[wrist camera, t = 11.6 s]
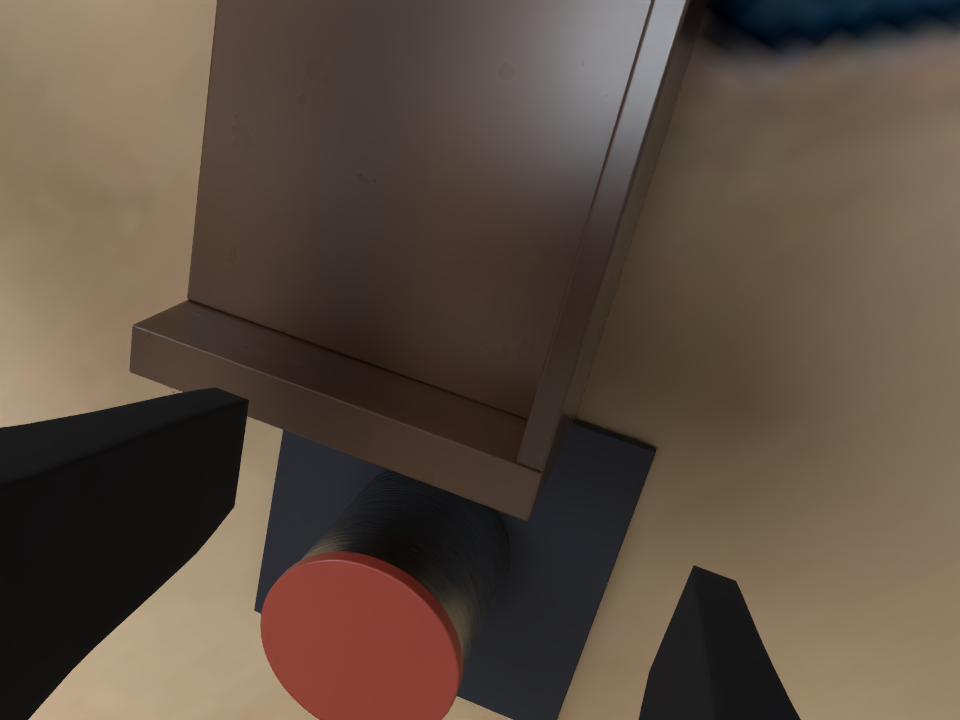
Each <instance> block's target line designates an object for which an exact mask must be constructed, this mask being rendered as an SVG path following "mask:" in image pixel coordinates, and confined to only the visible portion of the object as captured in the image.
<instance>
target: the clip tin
mask: <svg viewBox="0 0 960 720" xmlns="http://www.w3.org/2000/svg"><path fill="white" fill-rule="evenodd" d="M509 561H510V548H509V541H508V537H507V533H506V530H505V527H504V525H503V522H502V521H501V519H500V517H499V515H498V513H497V512H496V510H495V509H493V508H490V507H488V506H485V505H482V504H480V503H477V502H474V501H472V500H469V499H466V498H464V497H461V496H458V495H456V494H453V493H450V492H448V491H445V490H443V489H440V488H437V487H435V486H432V485H429V484H427V483H424V482H421V481H419V480H416V479H413V478H411V477H408V476H405V475H403V474H400V473H397V472H395V471H392V470H388V471H386V472H383V473H382V474H380V475H378V476H376V477H375V478H374V479H372V480H371V481H370V482H369V483H368V484H367V485H366V486H365V487H364V488H363V489H362V490H361V491H360V492H359V494H358V495H357V496H356V497H355V498H354V499H353V500H352V502H351V503H350V504H349V505H348V506H347V507H346V509H345V510H344V511H343V512H342V513H341V514H340V515H339V517H338V518H337V519H336V520H335V521H334V522H333V523H332V525H331V526H330V527H329V528H328V529H327V530H326V531H325V533H324V534H323V535H322V536H321V537H320V538H319V540H318V541H317V542H316V543H315V544H314V545H313V546H312V548H311V549H310V550H309V551H308V552H307V553H306V554H305V556H304V557H303V558H302V559H301V560H300V561H299V562H297V563H295V564H294V565H293V566H291V567H290V568H289V569H287V570H286V571H285V573H284V574H283V575H282V576H281V577H280V578H279V579H278V580H277V581H276V582H275V584H274V585H273V586H272V588H271V589H270V591H269V592H268V595H267V597H266V599H265V602H264V605H263V609H262V613H261V624H260V625H261V638H262V643H263V647H264V650H265V654H266V657H267V659H268V661H269V664H270V666H271V668H272V670H273V672H274V673H275V675H276V677H277V678H278V680H279V681H280V683H281V684H282V685H283V687H284V688H285V689H286V691H287V692H288V693H289V694H290V695H291V696H292V697H293V698H294V699H295V700H296V701H297V702H298V703H299V704H300V705H301V706H302V707H303V708H304V709H306V710H307V711H308V712H310V713H311V714H312V715H313V716H315V717H316V718H318V719H319V720H442V719H443V717H444V716H445V715H446V714H447V713H448V711H449V710H450V708H451V706H452V705H453V703H454V700H455V698H456V696H457V693H458V691H459V688H460V686H461V681H462V676H463V670H464V668H465V666H466V663H467V661H468V659H469V657H470V655H471V652H472V650H473V648H474V646H475V644H476V642H477V639H478V637H479V635H480V633H481V631H482V628H483V626H484V624H485V622H486V620H487V617H488V615H489V613H490V611H491V609H492V606H493V604H494V602H495V600H496V598H497V595H498V593H499V591H500V589H501V587H502V585H503V582H504V580H505V577H506V575H507V572H508V568H509Z"/></svg>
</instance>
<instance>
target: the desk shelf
mask: <svg viewBox="0 0 960 720" xmlns="http://www.w3.org/2000/svg"><path fill="white" fill-rule="evenodd" d="M707 2H708V0H217V7H216V17H215V27H214V37H213V47H212V57H211V67H210V77H209V87H208V97H207V107H206V117H205V127H204V137H203V146H202V156H201V166H200V176H199V186H198V196H197V206H196V216H195V226H194V236H193V246H192V256H191V266H190V276H189V286H188V295H187V298H188V299H189V300H187V301H185V302H182V303H180V304H178V305H176V306H174V307H171V308H169V309H167V310H165V311H163V312H160V313H158V314H156V315H154V316H152V317H149V318H147V319H145V320H143V321H141V322H138V323H136V324H134V325H133V329H132V342H131V356H130V369H129V370H130V372H131V373H134V374H137V375H139V376H142V377H145V378H147V379H150V380H153V381H155V382H158V383H161V384H163V385H166V386H169V387H171V388H174V389H177V390H179V391H182V392H188V391H193V390H199V389H206V388H214V387H216V388H219V389H222V390H224V391H227V392H230V393H232V394H235V395H238V396H240V397H243V398H246V399H248V400H249V405H248V413H247V416H248V417H251V418H254V419H256V420H259V421H262V422H264V423H267V424H270V425H272V426H275V427H278V428H280V429H283V430H286V431H288V432H291V433H294V434H296V435H299V436H302V437H304V438H307V439H310V440H312V441H315V442H318V443H320V444H323V445H326V446H328V447H331V448H334V449H336V450H339V451H341V452H344V453H347V454H349V455H352V456H355V457H357V458H360V459H363V460H365V461H368V462H371V463H373V464H376V465H379V466H381V467H384V468H387V469H389V470H392V471H395V472H397V473H400V474H403V475H405V476H408V477H411V478H413V479H416V480H419V481H421V482H424V483H427V484H429V485H432V486H435V487H437V488H440V489H443V490H445V491H448V492H450V493H453V494H456V495H458V496H461V497H464V498H466V499H469V500H472V501H474V502H477V503H480V504H482V505H485V506H488V507H490V508H493V509H496V510H498V511H501V512H504V513H506V514H509V515H512V516H514V517H517V518H520V519H522V520H525V521H527V520H528V519H529V518H530V515H531V513H532V511H533V509H534V507H535V505H536V502H537V500H538V498H539V496H540V494H541V492H542V489H543V487H544V485H545V483H546V481H547V479H548V477H549V474H550V472H551V470H552V468H553V466H554V464H555V461H556V459H557V457H558V455H559V453H560V451H561V449H562V446H563V444H564V442H565V440H566V438H567V436H568V433H569V431H570V429H571V426H572V423H573V421H574V419H575V416H576V413H577V409H578V406H579V403H580V400H581V397H582V394H583V391H584V386H585V384H586V381H587V378H588V375H589V372H590V369H591V365H592V362H593V359H594V356H595V353H596V350H597V347H598V343H599V340H600V337H601V334H602V331H603V328H604V325H605V322H606V318H607V315H608V312H609V309H610V306H611V303H612V300H613V297H614V293H615V290H616V287H617V284H618V281H619V278H620V275H621V271H622V268H623V265H624V262H625V259H626V256H627V253H628V250H629V246H630V243H631V240H632V237H633V234H634V231H635V228H636V225H637V221H638V218H639V215H640V212H641V209H642V206H643V203H644V199H645V196H646V193H647V190H648V187H649V184H650V181H651V178H652V174H653V171H654V168H655V165H656V162H657V159H658V156H659V153H660V149H661V146H662V143H663V140H664V137H665V134H666V131H667V127H668V124H669V121H670V118H671V115H672V112H673V109H674V106H675V102H676V99H677V96H678V93H679V90H680V87H681V84H682V81H683V77H684V74H685V71H686V68H687V65H688V62H689V59H690V55H691V52H692V49H693V46H694V43H695V40H696V37H697V34H698V30H699V27H700V24H701V21H702V18H703V15H704V12H705V9H706V5H707Z"/></svg>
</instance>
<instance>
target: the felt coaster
mask: <svg viewBox="0 0 960 720" xmlns="http://www.w3.org/2000/svg"><path fill="white" fill-rule="evenodd" d="M655 453H656V448H655V447H652V446H650V445H647V444H644V443H641V442H638V441H635V440H632V439H630V438H627V437H624V436H621V435H618V434H615V433H612V432H610V431H607V430H604V429H601V428H598V427H595V426H592V425H590V424H587V423H584V422H581V421H578V420H575V419H574V421H573V423H572V426H571V429H570V431H569V433H568V436H567V438H566V440H565V442H564V444H563V446H562V449H561V451H560V453H559V455H558V457H557V459H556V461H555V464H554V466H553V468H552V470H551V472H550V474H549V477H548V479H547V481H546V483H545V485H544V487H543V489H542V492H541V494H540V496H539V498H538V500H537V502H536V505H535V507H534V509H533V511H532V513H531V515H530V518H529V519H528V520H527V521H525V520H522V519H520V518H517V517H514V516H512V515H509V514H506V513H504V512H501V511H498V510H496V509H495V510H496V512H497V513H498V515H499V517H500V519H501V521H502V522H503V525H504V527H505V530H506V533H507V537H508V541H509V548H510V561H509V568H508V572H507V575H506V577H505V580H504V582H503V585H502V587H501V589H500V591H499V593H498V595H497V598H496V600H495V602H494V604H493V606H492V609H491V611H490V613H489V615H488V617H487V620H486V622H485V624H484V626H483V628H482V631H481V633H480V635H479V637H478V639H477V642H476V644H475V646H474V648H473V650H472V652H471V655H470V657H469V659H468V661H467V663H466V666H465V668H464V670H463V676H462V681H461V686H460V688H459V691H458V693H457V696H459V697H461V698H463V699H466V700H468V701H470V702H473V703H475V704H478V705H480V706H482V707H485V708H487V709H489V710H492V711H494V712H497V713H499V714H501V715H504V716H506V717H509V718H511V719H513V720H557V718H558V715H559V712H560V710H561V707H562V704H563V701H564V699H565V696H566V693H567V691H568V688H569V685H570V683H571V680H572V677H573V674H574V672H575V669H576V666H577V664H578V661H579V658H580V656H581V653H582V650H583V647H584V645H585V642H586V639H587V637H588V634H589V631H590V629H591V626H592V623H593V621H594V618H595V615H596V612H597V610H598V607H599V604H600V602H601V599H602V596H603V594H604V591H605V588H606V585H607V583H608V580H609V577H610V575H611V572H612V569H613V567H614V564H615V561H616V559H617V556H618V553H619V550H620V548H621V545H622V542H623V540H624V537H625V534H626V532H627V529H628V526H629V523H630V521H631V518H632V515H633V513H634V510H635V507H636V505H637V502H638V499H639V497H640V494H641V491H642V488H643V486H644V483H645V480H646V478H647V475H648V472H649V470H650V467H651V464H652V461H653V459H654V456H655ZM388 470H389V469H387V468H384V467H381V466H379V465H376V464H373V463H371V462H368V461H365V460H363V459H360V458H357V457H355V456H352V455H349V454H347V453H344V452H341V451H339V450H336V449H334V448H331V447H328V446H326V445H323V444H320V443H318V442H315V441H312V440H310V439H307V438H304V437H302V436H299V435H296V434H294V433H291V432H288V431H286V430H283V435H282V441H281V448H280V454H279V460H278V466H277V472H276V479H275V485H274V491H273V497H272V503H271V510H270V516H269V522H268V528H267V535H266V541H265V547H264V553H263V559H262V566H261V572H260V578H259V584H258V590H257V597H256V603H255V609H254V610H255V611H257V612H259V613H262V609H263V605H264V602H265V599H266V597H267V595H268V592H269V591H270V589H271V588H272V586H273V585H274V584H275V582H276V581H277V580H278V579H279V578H280V577H281V576H282V575H283V574H284V573H285V571H286V570H287V569H289V568H290V567H291V566H293V565H294V564H295V563H297V562H299V561H300V560H301V559H302V558H303V557H304V556H305V554H306V553H307V552H308V551H309V550H310V549H311V548H312V546H313V545H314V544H315V543H316V542H317V541H318V540H319V538H320V537H321V536H322V535H323V534H324V533H325V531H326V530H327V529H328V528H329V527H330V526H331V525H332V523H333V522H334V521H335V520H336V519H337V518H338V517H339V515H340V514H341V513H342V512H343V511H344V510H345V509H346V507H347V506H348V505H349V504H350V503H351V502H352V500H353V499H354V498H355V497H356V496H357V495H358V494H359V492H360V491H361V490H362V489H363V488H364V487H365V486H366V485H367V484H368V483H369V482H370V481H371V480H372V479H374V478H375V477H376V476H378V475H380V474H382V473H383V472H386V471H388Z"/></svg>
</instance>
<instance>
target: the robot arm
mask: <svg viewBox="0 0 960 720" xmlns="http://www.w3.org/2000/svg"><path fill="white" fill-rule="evenodd" d="M248 405H249V400H248V399H246V398H243V397H240V396H238V395H235V394H232V393H230V392H227V391H224V390H222V389H219V388H216V387H214V388H206V389H199V390H193V391H188V392H183V393H178V394H173V395H168V396H164V397H159V398H155V399H150V400H146V401H141V402H136V403H132V404H127V405H123V406H118V407H114V408H109V409H104V410H100V411H95V412H90V413H85V414H79V415H74V416H68V417H63V418H57V419H52V420H46V421H41V422H36V423H30V424H24V425H17V426H11V427H3V428H0V720H28V719H29V718H30V717H31V716H32V715H33V714H34V712H35V711H36V710H37V709H38V708H39V707H40V706H41V704H42V703H43V702H44V701H45V700H46V699H47V698H48V697H49V695H50V694H51V693H52V692H53V691H54V690H55V689H56V688H57V686H58V685H59V684H60V683H61V682H62V681H63V680H64V679H65V677H66V676H67V675H68V674H69V673H70V672H71V671H72V670H73V669H74V668H75V667H76V666H77V665H78V664H79V663H80V662H81V661H82V660H83V659H84V658H85V657H86V656H87V655H88V654H89V653H90V652H91V651H92V650H93V649H94V648H95V647H96V646H97V645H98V644H99V643H100V642H101V641H102V640H103V639H104V638H105V637H107V636H108V635H109V634H110V633H111V632H112V631H113V630H114V629H115V628H116V627H117V626H119V625H120V624H121V623H122V622H123V621H124V620H125V619H126V618H127V617H128V616H129V615H131V614H132V613H133V612H134V611H135V610H136V609H137V608H138V607H139V606H140V605H141V604H143V603H144V602H145V601H146V600H147V599H148V598H149V597H150V596H151V595H152V594H153V593H155V592H156V591H157V590H158V589H159V588H160V587H161V586H162V585H163V584H164V583H165V582H166V581H167V580H169V579H170V578H171V577H172V576H173V575H174V574H175V573H176V572H177V571H178V570H179V569H180V568H181V567H182V566H184V565H185V564H186V563H187V562H188V561H189V560H190V559H191V558H192V557H193V556H194V555H195V554H196V553H197V552H198V551H199V550H200V548H201V547H202V546H203V545H204V544H205V542H206V541H207V540H208V539H209V538H210V537H211V535H212V534H213V533H214V532H215V530H216V529H217V528H218V527H219V525H220V524H221V523H222V522H223V520H224V519H225V518H226V516H227V515H228V514H229V513H230V511H231V510H232V509H233V508H234V505H235V498H236V491H237V484H238V477H239V470H240V463H241V455H242V448H243V441H244V434H245V427H246V420H247V413H248ZM639 720H801V719H800V718H799V716H798V714H797V712H796V711H795V709H794V707H793V705H792V703H791V701H790V699H789V697H788V695H787V693H786V691H785V689H784V687H783V685H782V683H781V681H780V679H779V677H778V675H777V673H776V671H775V669H774V667H773V665H772V662H771V660H770V658H769V656H768V654H767V652H766V649H765V647H764V645H763V643H762V640H761V638H760V636H759V633H758V631H757V629H756V626H755V624H754V622H753V619H752V617H751V615H750V612H749V610H748V607H747V605H746V603H745V600H744V598H743V595H742V593H741V591H740V589H739V587H738V584H737V582H736V581H735V580H732V579H729V578H727V577H724V576H721V575H719V574H716V573H713V572H711V571H708V570H705V569H702V568H700V567H697V566H693V568H692V571H691V573H690V576H689V578H688V580H687V583H686V585H685V588H684V590H683V592H682V595H681V597H680V600H679V602H678V604H677V607H676V609H675V611H674V614H673V616H672V619H671V621H670V623H669V626H668V628H667V631H666V633H665V635H664V638H663V640H662V643H661V645H660V647H659V650H658V652H657V655H656V657H655V659H654V662H653V664H652V666H651V669H650V671H649V675H648V680H647V684H646V689H645V693H644V698H643V702H642V706H641V711H640V716H639Z"/></svg>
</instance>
